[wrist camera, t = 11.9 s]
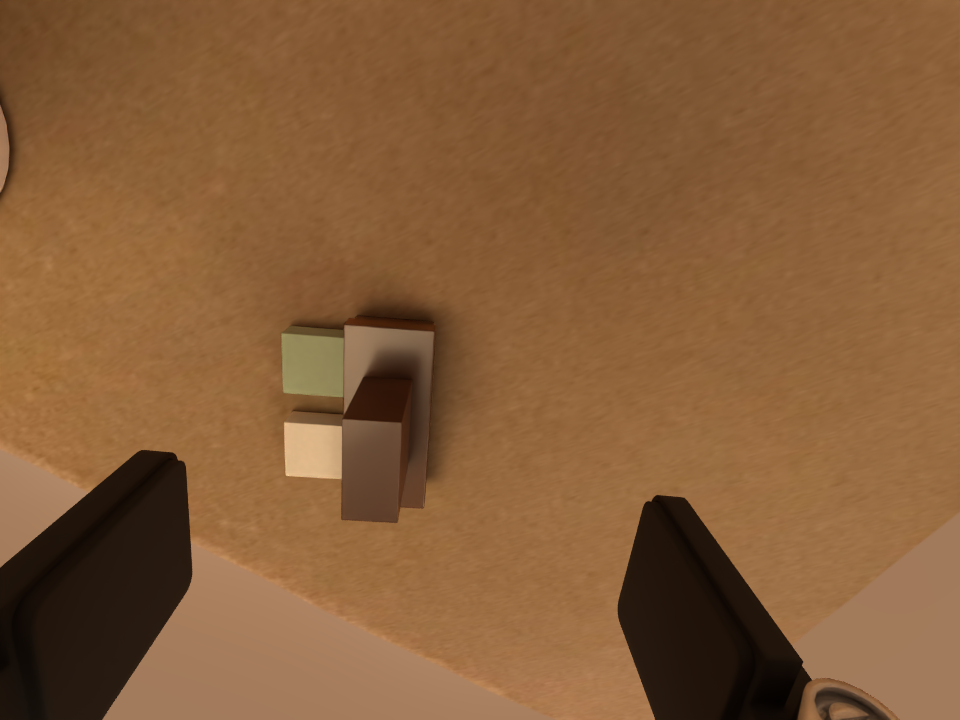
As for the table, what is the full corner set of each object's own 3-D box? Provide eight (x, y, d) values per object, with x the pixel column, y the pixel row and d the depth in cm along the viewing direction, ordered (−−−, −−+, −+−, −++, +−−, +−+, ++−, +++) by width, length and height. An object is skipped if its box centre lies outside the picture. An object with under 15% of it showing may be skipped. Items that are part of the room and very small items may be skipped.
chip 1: (291, 383, 35) (282, 393, 33) (290, 325, 34) (280, 333, 32) (351, 387, 35) (346, 398, 33) (352, 330, 34) (347, 338, 32)
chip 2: (293, 462, 37) (285, 476, 35) (292, 410, 35) (283, 422, 34) (350, 465, 37) (345, 479, 35) (351, 414, 36) (345, 426, 34)
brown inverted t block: (351, 480, 37) (319, 568, 29) (353, 312, 33) (316, 356, 25) (426, 484, 38) (416, 572, 29) (437, 318, 34) (429, 364, 25)
